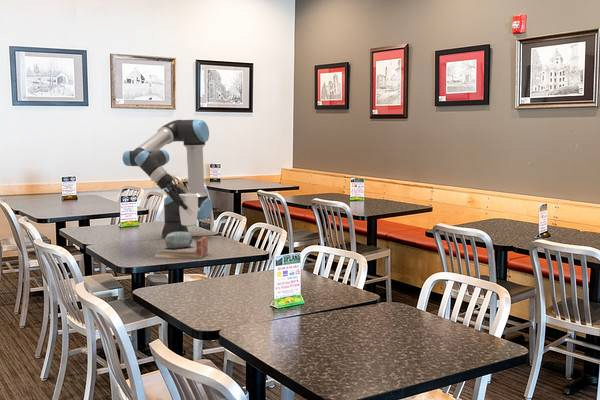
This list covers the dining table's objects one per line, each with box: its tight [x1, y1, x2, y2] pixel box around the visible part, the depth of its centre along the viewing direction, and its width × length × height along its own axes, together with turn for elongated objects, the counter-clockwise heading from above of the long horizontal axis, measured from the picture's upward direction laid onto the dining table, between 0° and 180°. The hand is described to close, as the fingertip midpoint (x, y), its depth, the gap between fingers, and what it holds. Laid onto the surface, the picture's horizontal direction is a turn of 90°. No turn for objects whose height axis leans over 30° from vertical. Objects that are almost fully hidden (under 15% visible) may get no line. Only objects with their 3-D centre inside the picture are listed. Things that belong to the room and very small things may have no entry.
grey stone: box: [164, 232, 193, 249], centre depth 330 cm, size 14×10×10 cm
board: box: [154, 236, 209, 260], centre depth 309 cm, size 12×22×8 cm, turn 82°
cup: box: [179, 193, 198, 227], centre depth 307 cm, size 7×7×15 cm
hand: (195, 212), depth 306 cm, fingers closed on cup, 9 cm apart
